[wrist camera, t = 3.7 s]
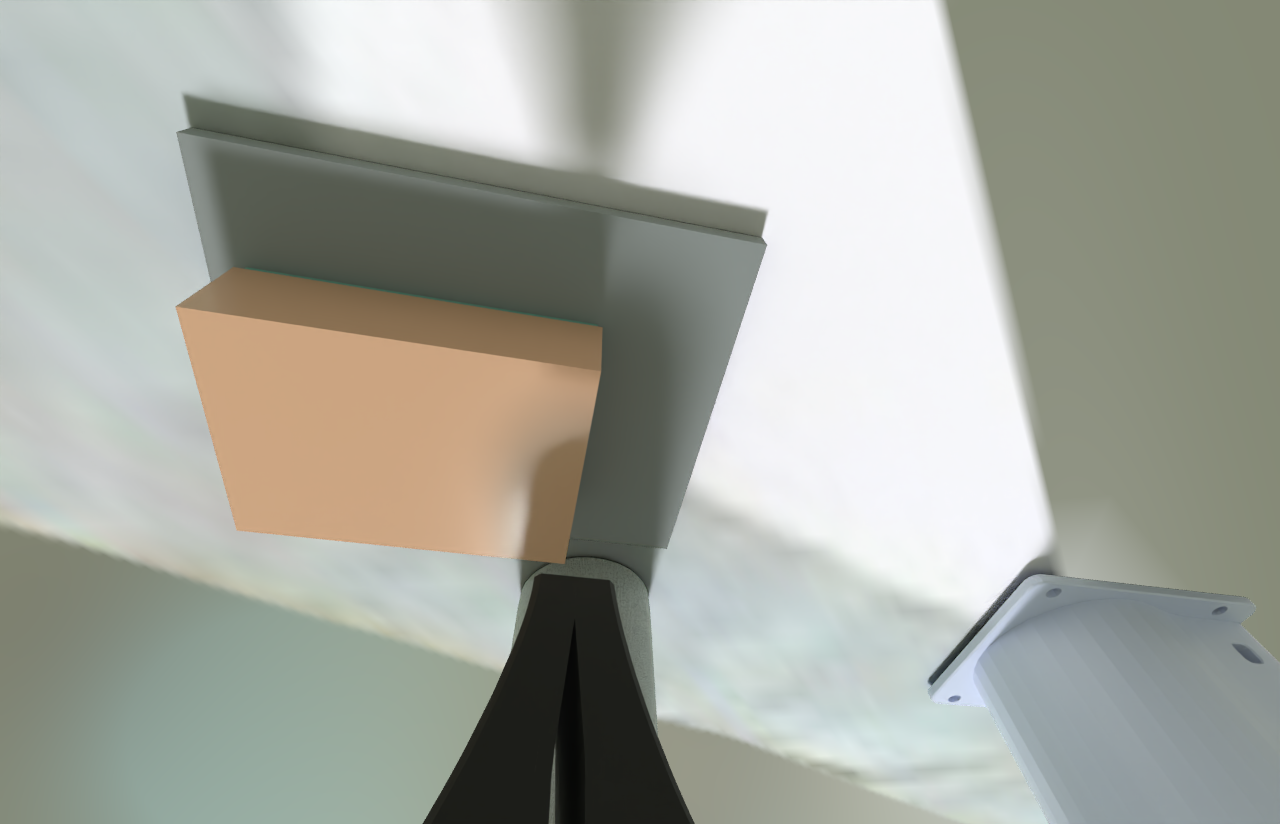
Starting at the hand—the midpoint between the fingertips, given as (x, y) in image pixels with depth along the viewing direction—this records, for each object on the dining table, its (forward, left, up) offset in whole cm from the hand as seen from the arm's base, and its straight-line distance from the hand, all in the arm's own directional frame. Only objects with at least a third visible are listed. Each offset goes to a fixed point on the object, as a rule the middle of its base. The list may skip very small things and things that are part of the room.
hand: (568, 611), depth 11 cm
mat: (+3, 0, -6) cm, 7 cm away
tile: (0, 0, -5) cm, 5 cm away
